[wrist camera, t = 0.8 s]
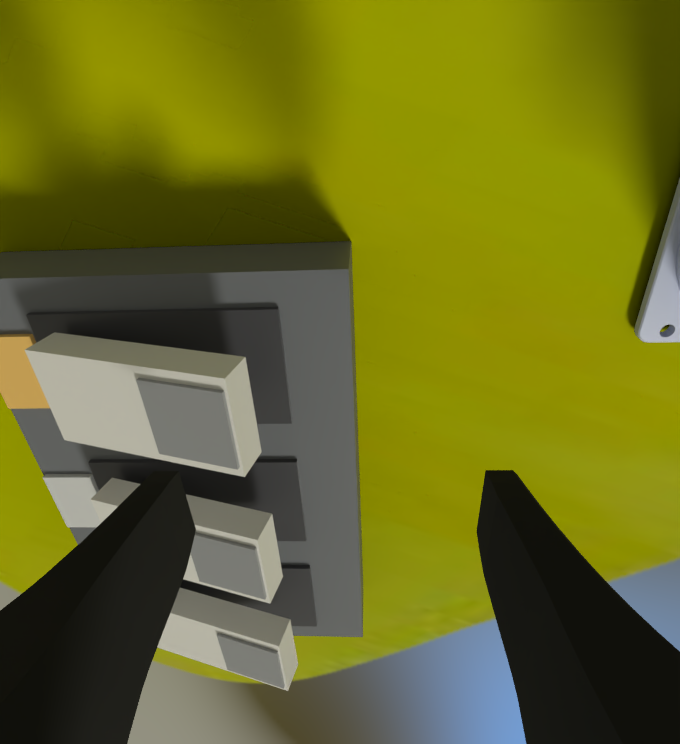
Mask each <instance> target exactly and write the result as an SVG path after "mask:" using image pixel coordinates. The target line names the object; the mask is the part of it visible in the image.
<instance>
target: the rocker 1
mask: <svg viewBox="0 0 680 744" xmlns="http://www.w3.org/2000/svg"><path fill="white" fill-rule="evenodd" d="M25 352H26V354H27V357H28V359H29V361H30V363H31V366H32V368H33V370H34V373H35V375H36V377H37V379H38V382H39V384H40V386H41V388H42V391H43V393H44V395H45V397H46V400H47V402H48V404H49V406H50V409H51V411H52V413H53V416H54V418H55V420H56V422H57V425H58V427H59V429H60V431H61V434H62V436H63V438H64V440H66V441H71V442H76V443H81V444H86V445H91V446H96V447H101V448H105V449H110V450H115V451H120V452H125V453H130V454H135V455H139V456H144V457H149V458H154V459H159V460H164V461H169V462H174V463H178V464H183V465H188V466H193V467H198V468H203V469H208V470H212V471H217V472H222V473H227V474H232V475H237V476H242V477H245V476H246V475H247V473H248V472H249V470H250V469H251V467H252V466H253V464H254V463H255V461H256V460H257V458H258V457H259V455H260V454H261V452H262V451H261V445H260V439H259V433H258V428H257V422H256V416H255V410H254V404H253V398H252V393H251V387H250V381H249V375H248V369H247V363H246V357H243V356H235V355H227V354H220V353H212V352H204V351H196V350H188V349H181V348H173V347H165V346H157V345H149V344H142V343H134V342H126V341H118V340H110V339H103V338H95V337H87V336H79V335H71V334H64V333H56V332H54V333H52V334H51V335H49V336H47V337H46V338H44V339H42V340H40V341H39V342H37V343H35V344H34V345H32V346H30V347H28V348H27V349H25Z"/></svg>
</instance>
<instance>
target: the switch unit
mask: <svg viewBox="0 0 680 744" xmlns="http://www.w3.org/2000/svg"><path fill="white" fill-rule="evenodd" d="M54 332H56V333H64V334H71V335H79V336H87V337H95V338H103V339H110V340H118V341H126V342H134V343H142V344H149V345H157V346H165V347H173V348H181V349H188V350H196V351H204V352H212V353H220V354H227V355H235V356H243V357H246V363H247V369H248V375H249V381H250V387H251V393H252V398H253V404H254V410H255V416H256V422H257V428H258V433H259V439H260V445H261V451H262V452H261V454H260V455H259V457H258V458H257V460H256V461H255V463H254V464H253V466H252V467H251V469H250V470H249V472H248V473H247V475H246V476H245V477H242V476H237V475H232V474H227V473H222V472H217V471H212V470H208V469H203V468H198V467H193V466H188V465H183V464H178V463H174V462H169V461H164V460H159V459H154V458H149V457H144V456H139V455H135V454H130V453H125V452H120V451H115V450H110V449H105V448H101V447H96V446H91V445H86V444H81V443H76V442H71V441H66V440H64V438H63V436H62V434H61V431H60V429H59V427H58V425H57V422H56V420H55V418H54V416H53V413H52V411H51V409H50V406H49V404H48V402H47V400H46V397H45V395H44V393H43V391H42V388H41V386H40V384H39V382H38V379H37V377H36V375H35V373H34V370H33V368H32V366H31V363H30V361H29V359H28V357H27V354H26V352H25V349H27V348H28V347H30V346H32V345H34V344H35V343H37V342H39V341H40V340H42V339H44V338H46V337H47V336H49V335H51V334H52V333H54ZM0 392H1V394H2V396H3V398H4V401H5V403H6V405H7V407H8V409H11V410H12V412H13V414H14V416H15V418H16V420H17V422H18V424H19V426H20V428H21V430H22V432H23V434H24V436H25V438H26V440H27V442H28V444H29V446H30V448H31V450H32V452H33V454H34V456H35V459H36V461H37V463H38V465H39V467H40V469H41V471H42V473H43V475H44V477H43V479H44V481H45V483H46V485H47V487H48V489H49V491H50V493H51V495H52V497H53V499H54V501H55V503H56V505H57V507H58V509H59V511H60V513H61V515H62V517H63V519H64V521H65V523H66V525H67V527H70V529H71V531H72V533H73V535H74V537H75V539H76V541H77V543H78V545H79V544H80V543H81V542H82V541H83V540H84V539H85V538H86V537H87V536H88V535H89V534H90V533H91V532H92V531H93V530H94V529H96V528H97V527H98V526H99V525H100V524H101V522H100V520H99V517H98V515H97V513H96V511H95V508H94V506H93V504H92V502H91V498H92V497H93V496H94V495H95V494H96V493H97V492H98V491H99V490H100V489H101V488H102V487H103V486H104V485H105V484H106V483H107V482H108V481H109V480H110V479H111V478H116V479H120V480H125V481H129V482H134V483H138V484H141V483H142V482H143V481H144V480H145V479H146V478H147V477H148V476H149V475H150V474H151V473H153V472H154V471H179V474H180V477H181V481H182V484H183V487H184V491H185V494H187V495H191V496H196V497H200V498H205V499H209V500H214V501H218V502H223V503H227V504H232V505H236V506H240V507H245V508H249V509H254V510H258V511H263V512H267V513H272V515H273V521H274V527H275V533H276V539H277V545H278V550H279V556H280V562H281V568H282V574H283V578H282V580H281V582H280V584H279V586H278V589H277V591H276V593H275V595H274V597H273V599H272V601H271V603H270V604H269V603H266V602H262V601H259V600H255V599H252V598H248V597H245V596H241V595H237V594H234V593H230V592H227V591H223V590H220V589H216V588H213V587H209V586H206V585H202V584H198V583H195V582H191V581H188V580H184V579H183V580H182V583H181V586H180V588H183V589H187V590H190V591H194V592H197V593H201V594H204V595H208V596H211V597H215V598H218V599H221V600H225V601H228V602H232V603H235V604H239V605H242V606H246V607H249V608H253V609H256V610H260V611H263V612H267V613H270V614H274V615H277V616H280V617H284V618H287V619H290V621H291V626H292V632H293V635H294V636H341V637H363V569H362V540H361V511H360V482H359V453H358V425H357V396H356V367H355V338H354V309H353V280H352V251H351V241H346V242H314V243H281V244H249V245H217V246H185V247H153V248H121V249H89V250H57V251H24V252H1V253H0Z"/></svg>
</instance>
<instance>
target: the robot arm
mask: <svg viewBox="0 0 680 744" xmlns="http://www.w3.org/2000/svg"><path fill="white" fill-rule="evenodd" d="M665 325H669V327H668V329H667V330H665V331H664V332H660V330H661V328H662V327H664V326H665ZM634 332H635V334H636V336H637V337H638V338H639V339H640V340H642V341H643V342H680V179H679V182H678V185H677V189H676V192H675V195H674V198H673V202H672V205H671V208H670V212H669V215H668V218H667V222H666V225H665V228H664V232H663V235H662V238H661V242H660V245H659V248H658V251H657V255H656V258H655V261H654V265H653V268H652V271H651V275H650V278H649V281H648V285H647V288H646V291H645V295H644V298H643V301H642V305H641V308H640V311H639V314H638V318H637V321H636V324H635V330H634ZM195 532H196V528H195V525H194V521H193V518H192V514H191V511H190V508H189V504H188V501H187V497H186V494H185V491H184V487H183V484H182V481H181V477H180V474H179V471H154V472H153V473H151V474H150V475H149V476H148V477H147V478H146V479H145V480H144V481H143V482H142V483H141V484H140V485H139V486H138V487H137V488H136V489H135V490H134V491H133V492H132V493H131V494H130V495H129V496H128V497H127V498H126V499H125V500H124V501H123V502H122V503H121V504H120V505H119V506H118V507H117V508H116V509H115V510H114V511H113V512H112V513H111V514H110V515H109V516H108V517H107V518H106V519H105V520H104V521H103V522H102V523H101V524H100V525H99V526H98V527H97V528H96V529H94V530H93V531H92V532H91V533H90V534H89V535H88V536H87V537H86V538H85V539H84V540H83V541H82V542H81V543H80V544H79V545H78V546H76V547H75V548H74V549H73V550H72V551H71V552H70V553H69V554H68V555H66V556H65V557H64V558H63V559H62V560H61V561H60V562H59V563H57V564H56V565H55V566H54V567H53V568H52V569H51V570H50V571H48V572H47V573H46V574H45V575H44V576H43V577H42V578H40V579H39V580H38V581H37V582H36V583H35V584H33V585H32V586H31V587H30V588H28V589H27V590H26V591H25V592H24V593H22V594H21V595H20V596H19V597H17V598H16V599H15V600H13V601H12V602H11V603H10V604H8V605H7V606H6V607H4V608H3V609H2V610H1V611H0V744H127V742H128V738H129V734H130V731H131V727H132V724H133V720H134V716H135V713H136V709H137V706H138V702H139V699H140V695H141V691H142V688H143V685H144V682H145V679H146V676H147V673H148V670H149V667H150V665H151V662H152V659H153V657H154V654H155V652H156V649H157V646H158V644H159V641H160V638H161V636H162V633H163V631H164V628H165V625H166V623H167V620H168V618H169V615H170V612H171V610H172V607H173V605H174V602H175V599H176V597H177V594H178V591H179V589H180V586H181V583H182V580H183V578H184V575H185V572H186V569H187V565H188V561H189V557H190V553H191V549H192V545H193V541H194V536H195ZM477 537H478V543H479V549H480V556H481V562H482V567H483V573H484V577H485V581H486V585H487V588H488V592H489V595H490V599H491V602H492V606H493V610H494V613H495V617H496V620H497V623H498V627H499V631H500V634H501V638H502V641H503V644H504V648H505V651H506V655H507V658H508V662H509V666H510V669H511V673H512V677H513V681H514V685H515V689H516V693H517V697H518V702H519V707H520V712H521V718H522V723H523V728H524V733H525V738H526V743H527V744H680V652H679V651H678V650H677V649H676V648H675V647H674V646H673V645H672V644H670V643H669V642H668V641H667V640H666V639H665V638H664V637H663V636H662V635H660V634H659V633H658V632H657V631H656V630H655V629H654V628H653V627H652V626H651V625H650V624H649V623H647V622H646V621H645V620H644V619H643V618H642V617H641V616H640V615H639V614H638V613H637V612H636V611H635V610H633V608H632V607H630V605H628V603H627V602H626V601H625V600H623V598H622V597H621V596H620V595H619V594H618V593H617V592H616V591H615V590H613V588H612V587H611V586H610V585H609V584H608V583H607V582H606V581H605V580H604V579H603V578H602V577H601V576H600V575H599V573H598V572H597V571H596V570H595V569H594V568H593V567H592V566H591V565H590V564H589V563H588V562H587V560H586V559H585V558H584V557H583V556H582V555H581V554H580V553H579V551H578V550H577V549H576V548H575V547H574V546H573V544H572V543H571V542H570V541H569V540H568V539H567V537H566V536H565V535H564V534H563V533H562V532H561V530H560V529H559V528H558V527H557V526H556V524H555V523H554V522H553V521H552V519H551V518H550V517H549V516H548V514H547V513H546V512H545V511H544V509H543V508H542V507H541V506H540V504H539V503H538V502H537V500H536V499H535V498H534V496H533V495H532V494H531V493H530V491H529V490H528V489H527V487H526V486H525V485H524V483H523V482H522V481H521V479H520V478H519V476H518V475H517V474H516V473H515V472H514V471H513V470H486V472H485V478H484V485H483V492H482V499H481V505H480V512H479V519H478V526H477Z"/></svg>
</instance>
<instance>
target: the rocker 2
mask: <svg viewBox="0 0 680 744" xmlns="http://www.w3.org/2000/svg"><path fill="white" fill-rule="evenodd" d="M157 647H158V648H161V649H164V650H167V651H170V652H173V653H176V654H179V655H182V656H185V657H188V658H191V659H194V660H197V661H200V662H203V663H206V664H209V665H212V666H215V667H218V668H221V669H224V670H227V671H230V672H233V673H236V674H239V675H242V676H245V677H248V678H251V679H254V680H257V681H260V682H263V683H266V684H269V685H272V686H275V687H278V688H281V689H284V690H287V691H288V689H289V687H290V684H291V681H292V679H293V676H294V673H295V671H296V668H297V665H298V662H297V656H296V650H295V644H294V638H293V632H292V626H291V621H290V619H287V618H284V617H280V616H277V615H274V614H270V613H267V612H263V611H260V610H256V609H253V608H249V607H246V606H242V605H239V604H235V603H232V602H228V601H225V600H221V599H218V598H215V597H211V596H208V595H204V594H201V593H197V592H194V591H190V590H187V589H183V588H180V589H179V591H178V594H177V597H176V599H175V602H174V605H173V607H172V610H171V612H170V615H169V618H168V620H167V623H166V625H165V628H164V631H163V633H162V636H161V638H160V641H159V644H158V646H157Z"/></svg>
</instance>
